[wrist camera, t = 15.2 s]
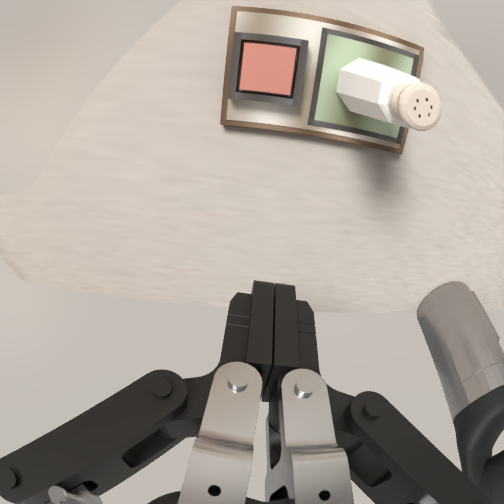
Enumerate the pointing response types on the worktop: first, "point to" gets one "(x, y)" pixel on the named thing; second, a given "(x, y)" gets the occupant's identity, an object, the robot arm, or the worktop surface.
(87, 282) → the worktop surface
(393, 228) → the worktop surface
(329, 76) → the metal control panel
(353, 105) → the pepper shaker
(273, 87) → the button
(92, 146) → the worktop surface
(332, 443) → the robot arm
